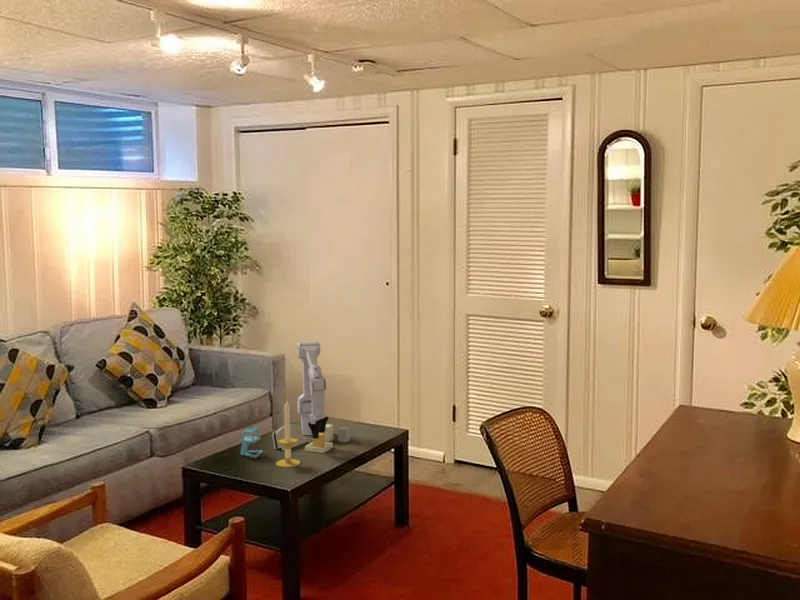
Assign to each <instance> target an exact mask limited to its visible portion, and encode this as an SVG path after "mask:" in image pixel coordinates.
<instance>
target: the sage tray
mask: <svg viewBox="0 0 800 600" xmlns="http://www.w3.org/2000/svg"><path fill="white" fill-rule="evenodd" d="M333 445H334V444H333V442H331V443H330V442H325V447H323V448H319V447H313V442H310V443H308V444H307V445H305V446H304V451H305V452H311V453H319V454H324V453H326V452H328V451H329V450H331V449H333V447H334V446H333Z"/></svg>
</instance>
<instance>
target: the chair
mask: <svg viewBox="0 0 800 600" xmlns="http://www.w3.org/2000/svg"><path fill="white" fill-rule="evenodd" d="M259 432H260V428H258V427H256V426H251V427H248V428H245V430H243V431H240V436H241V439H240V440H239V443H241V448H240V454H241V455H240V456H244V455H245V456H244V457H248V456H249V457H250V458H253V457H254V459H257V458H258V457H259V456H261V455H262V454H263V453H264V451H263V450H262V449H260V450H248V448H249V446H250V444H255V443H256V442H257V441H260V439H261V436H259ZM244 434H246V436H244ZM255 435H256V436H255ZM260 454H261V455H260ZM249 457H248V458H249Z"/></svg>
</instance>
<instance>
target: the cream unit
mask: <svg viewBox="0 0 800 600" xmlns="http://www.w3.org/2000/svg"><path fill="white" fill-rule="evenodd" d="M324 433H325V442H331V443H333V442H334V441H335V440H336V438H335V437H334V424H331V423H330V424H329V423H326V427H325V432H324ZM333 440H334V441H333ZM310 441H311V442H310V443H312V442H313V438H312V439H311V440H310Z"/></svg>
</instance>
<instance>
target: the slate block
mask: <svg viewBox="0 0 800 600" xmlns="http://www.w3.org/2000/svg"><path fill="white" fill-rule="evenodd" d="M350 430H351V429H350V426H340V427H339V428H337V442H338V441H342V442H341V443H345V442H346V443H348V442H349V441H351V437H350V436H351V433H350V432H351V431H350ZM348 440H349V441H348ZM347 441H348V442H347Z"/></svg>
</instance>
